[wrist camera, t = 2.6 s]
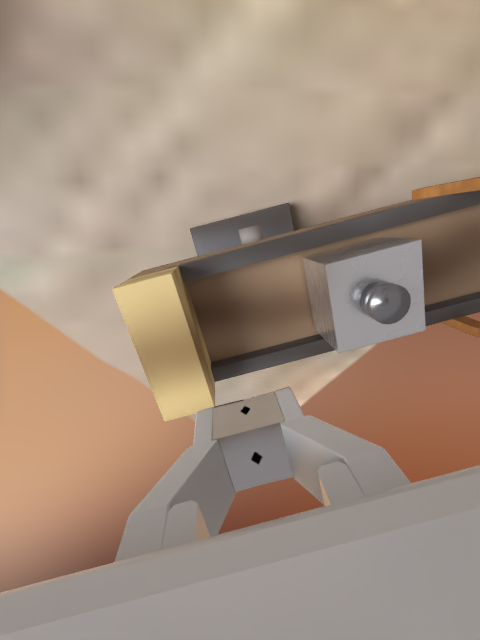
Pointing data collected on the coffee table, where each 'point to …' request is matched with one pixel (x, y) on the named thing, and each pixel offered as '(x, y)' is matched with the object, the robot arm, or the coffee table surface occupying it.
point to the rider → (367, 292)
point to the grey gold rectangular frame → (284, 290)
